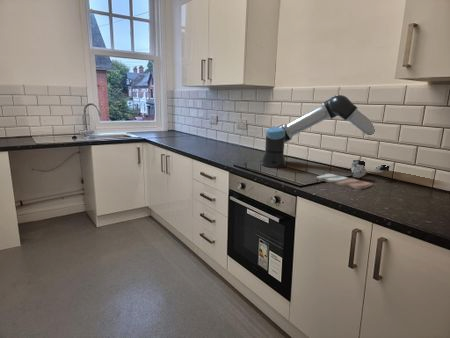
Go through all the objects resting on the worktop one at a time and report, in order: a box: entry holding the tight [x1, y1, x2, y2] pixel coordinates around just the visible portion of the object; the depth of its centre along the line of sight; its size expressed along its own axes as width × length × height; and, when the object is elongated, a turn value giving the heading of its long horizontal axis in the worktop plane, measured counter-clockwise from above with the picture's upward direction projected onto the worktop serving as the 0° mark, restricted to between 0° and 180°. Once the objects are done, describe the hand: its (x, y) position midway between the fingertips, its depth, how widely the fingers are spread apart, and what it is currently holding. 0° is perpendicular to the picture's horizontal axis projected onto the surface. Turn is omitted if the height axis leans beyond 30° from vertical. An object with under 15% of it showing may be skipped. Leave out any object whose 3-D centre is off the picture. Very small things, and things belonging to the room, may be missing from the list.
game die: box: [349, 165, 368, 180], centre depth 166 cm, size 9×8×10 cm
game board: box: [315, 173, 373, 191], centre depth 159 cm, size 25×13×1 cm, turn 41°
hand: (364, 167), depth 168 cm, fingers open, 13 cm apart
